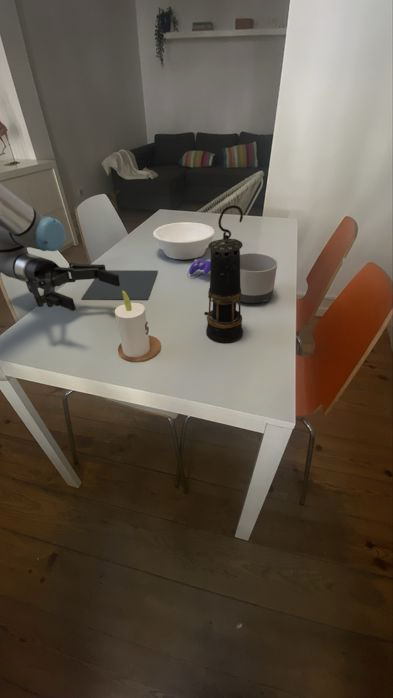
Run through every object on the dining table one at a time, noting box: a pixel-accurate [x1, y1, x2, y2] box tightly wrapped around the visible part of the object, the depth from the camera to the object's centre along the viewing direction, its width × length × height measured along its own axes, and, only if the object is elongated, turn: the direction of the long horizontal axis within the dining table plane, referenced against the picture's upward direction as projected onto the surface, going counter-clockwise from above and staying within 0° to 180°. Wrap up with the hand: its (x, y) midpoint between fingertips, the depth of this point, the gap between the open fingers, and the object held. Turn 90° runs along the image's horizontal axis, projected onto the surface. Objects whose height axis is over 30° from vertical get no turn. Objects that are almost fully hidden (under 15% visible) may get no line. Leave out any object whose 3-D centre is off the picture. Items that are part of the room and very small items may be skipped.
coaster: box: [117, 334, 162, 363], centre depth 75 cm, size 10×10×1 cm
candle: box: [114, 291, 150, 358], centre depth 69 cm, size 6×6×15 cm
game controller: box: [187, 258, 211, 280], centre depth 103 cm, size 10×8×10 cm
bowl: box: [152, 221, 216, 260], centre depth 118 cm, size 22×22×8 cm
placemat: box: [80, 269, 159, 301], centre depth 101 cm, size 20×20×1 cm
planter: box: [240, 252, 278, 304], centre depth 90 cm, size 13×13×10 cm
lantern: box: [203, 204, 244, 344], centre depth 70 cm, size 9×9×30 cm
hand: (97, 292), depth 72 cm, fingers open, 13 cm apart
